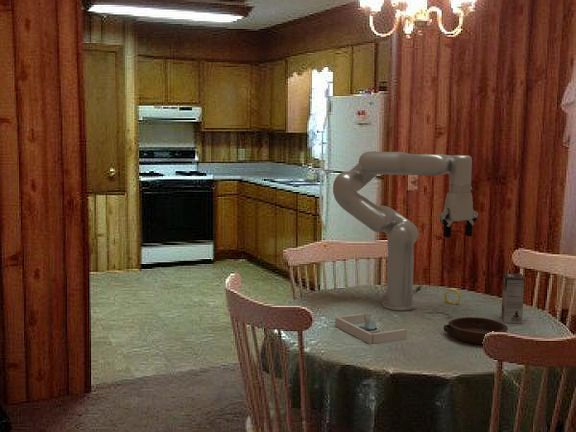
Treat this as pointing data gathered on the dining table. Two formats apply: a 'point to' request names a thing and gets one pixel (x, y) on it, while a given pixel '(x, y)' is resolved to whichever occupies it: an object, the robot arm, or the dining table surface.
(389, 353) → the dining table surface
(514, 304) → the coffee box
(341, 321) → the box
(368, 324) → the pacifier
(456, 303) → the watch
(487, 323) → the dish
